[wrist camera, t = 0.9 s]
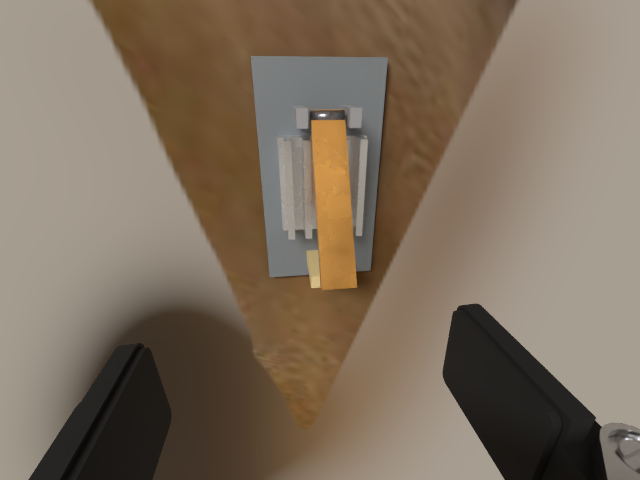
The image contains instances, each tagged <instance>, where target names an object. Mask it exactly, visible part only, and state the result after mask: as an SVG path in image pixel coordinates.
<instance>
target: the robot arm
mask: <svg viewBox="0 0 640 480" xmlns="http://www.w3.org/2000/svg"><path fill="white" fill-rule="evenodd" d="M443 378H444V381H445V383H446V385H447V386H448V388H449V390H450V391H451V393H452V395H453V396H454V398H455V399H456V401H457V402H458V404H459V406H460V408H461V409H462V411H463V412H464V414H465V416H466V417H467V419H468V421H469V422H470V424H471V425H472V427H473V429H474V430H475V432H476V434H477V435H478V437H479V439H480V440H481V442H482V443H483V445H484V447H485V448H486V450H487V451H488V453H489V455H490V456H491V458H492V460H493V461H494V463H495V464H496V466H497V468H498V469H499V471H500V473H501V474H502V476H503V477H504V479H505V480H640V429H638V428H636V427H633V426H629V425H626V424H623V423H610V424H606V425H604V426H603V427H601V426H600V425H599V424H598V423H597V422H596V421H595V419H596V417H595V416H594V415H593V414H592V413H591V412H590V411H589V410H588V409H587V408H586V407H585V406H584V405H583V404H582V403H581V402H580V401H579V400H577V398H575V397H574V396H573V395H572V394H571V393H570V392H569V391H568V390H567V389H566V388H565V387H564V386H563V385H562V384H561V383H560V382H559V381H558V380H557V379H556V378H555V377H554V376H553V375H552V374H551V373H550V372H548V370H547V369H546V368H545V367H544V366H543V365H541V363H539V362H538V361H537V360H536V359H535V358H534V357H533V356H532V355H531V354H530V353H529V352H528V351H527V350H526V349H525V348H524V347H523V346H522V345H521V344H520V343H519V342H518V341H517V340H516V339H515V338H514V337H513V336H511V334H510V333H508V331H507V330H506V329H504V328H503V327H502V326H501V325H500V324H499V323H498V322H497V321H496V320H495V319H494V318H493V317H492V316H491V315H490V314H489V313H488V312H487V311H486V310H485V309H484V308H483V307H482V306H481V305H479V304H469V305H462V306H459V307H458V308H457V311H454V312H453V316H452V321H451V327H450V332H449V338H448V344H447V350H446V356H445V361H444V367H443ZM170 423H171V409H170V406H169V403H168V400H167V397H166V394H165V391H164V388H163V385H162V382H161V379H160V376H159V373H158V371H157V367H156V365H155V361H154V358H153V356H152V353H151V350H150V349H149V348H145V347H144V345H143V344H141V343H138V344H129V345H121V346H118V347H117V348H116V349H115V350H114V352H113V353H112V355H111V357H110V358H109V360H108V361H107V363H106V364H105V366H104V367H103V369H102V370H101V372H100V374H99V375H98V377H97V378H96V380H95V381H94V383H93V384H92V386H91V388H90V389H89V391H88V392H87V394H86V395H85V397H84V398H83V400H82V402H80V403H79V404H78V406H77V407H76V408H75V409H74V411H73V412H72V414H71V415H70V417H69V419H68V420H67V422H66V423H65V425H64V426H63V428H62V429H61V431H60V432H59V434H58V435H57V437H56V439H55V440H54V442H53V443H52V445H51V446H50V448H49V449H48V451H47V452H46V454H45V455H44V457H43V458H42V460H41V462H40V463H39V464H38V466H37V468H36V469H35V471H34V472H33V474H32V475H31V477H30V478H29V480H152V479H153V476H154V473H155V470H156V467H157V464H158V460H159V457H160V454H161V451H162V448H163V445H164V442H165V439H166V436H167V433H168V429H169V426H170Z"/></svg>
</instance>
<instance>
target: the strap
mask: <svg viewBox="0 0 640 480" xmlns="http://www.w3.org/2000/svg"><path fill="white" fill-rule="evenodd" d="M310 125H311V142H312V158H313V174H314V190H315V206H316V222H317V238H318V255H319V271H320V287H321V290H330V289H344V288H357V279H356V265H355V250H354V236H353V222H352V208H351V194H350V179H349V165H348V151H347V137H346V123H345V109H334V110H310Z"/></svg>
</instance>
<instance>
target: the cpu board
mask: <svg viewBox="0 0 640 480" xmlns="http://www.w3.org/2000/svg"><path fill="white" fill-rule="evenodd" d="M387 62H388V57H294V56H251V63H252V75H253V86H254V98H255V110H256V121H257V133H258V145H259V156H260V168H261V180H262V191H263V203H264V215H265V226H266V238H267V250H268V261H269V273H270V277H283V276H298V275H309V277H310V283H311V288H318V287H320V271H319V255H318V238H317V229H312V239H306V238H305V233H304V229H303V230H295V240H289V239H288V230H284V231H283V222H282V205H281V188H280V171H279V155H278V138H277V137H278V135H311V125H310V110H334V109H345V123H346V134H364V135H366V136H367V139H368V149H367V165H366V180H365V196H364V212H363V228H362V236H355V234H354V232H353V236H354V250H355V265H356V272H358V271H371V259H372V247H373V234H374V222H375V210H376V197H377V185H378V173H379V160H380V148H381V136H382V123H383V111H384V99H385V86H386V74H387Z"/></svg>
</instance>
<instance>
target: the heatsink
mask: <svg viewBox="0 0 640 480" xmlns="http://www.w3.org/2000/svg"><path fill="white" fill-rule="evenodd" d="M346 137H347V151H348V165H349V179H350V194H351V208H352V222H353V232H354V234H355V236H362V228H363V212H364V196H365V180H366V165H367V149H368V139H367V136H366V135H364V134H346ZM277 138H278V155H279V171H280V188H281V205H282V222H283V231H284V230H288V239H289V240H295V230H303V229H304V233H305V238H306V239H312V229H317V222H316V206H315V190H314V174H313V158H312V142H311V135H278V137H277Z"/></svg>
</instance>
